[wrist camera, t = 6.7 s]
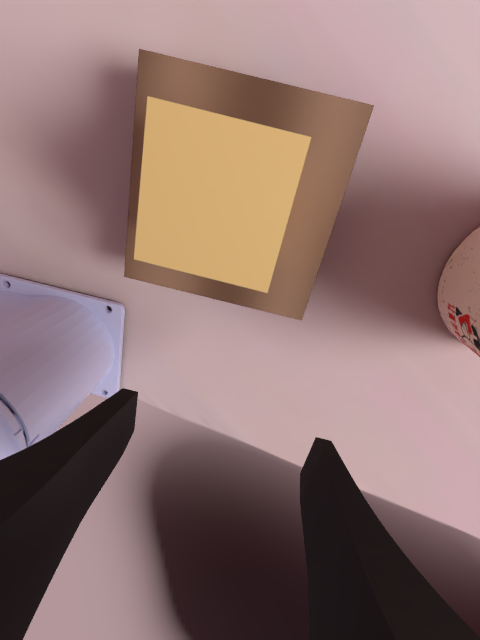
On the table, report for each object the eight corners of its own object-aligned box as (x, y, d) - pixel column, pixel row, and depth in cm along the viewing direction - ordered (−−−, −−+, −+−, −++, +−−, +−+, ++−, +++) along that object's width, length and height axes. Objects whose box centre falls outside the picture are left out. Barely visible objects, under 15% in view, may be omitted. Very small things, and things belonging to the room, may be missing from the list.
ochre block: (174, 238, 16) (133, 259, 11) (190, 126, 14) (147, 96, 9) (269, 262, 16) (267, 293, 11) (299, 153, 14) (311, 137, 9)
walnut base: (145, 264, 20) (124, 276, 17) (163, 73, 15) (139, 48, 13) (297, 301, 19) (301, 320, 17) (356, 120, 15) (373, 105, 13)
